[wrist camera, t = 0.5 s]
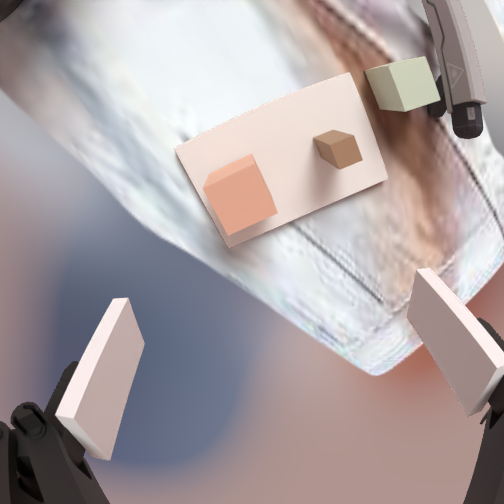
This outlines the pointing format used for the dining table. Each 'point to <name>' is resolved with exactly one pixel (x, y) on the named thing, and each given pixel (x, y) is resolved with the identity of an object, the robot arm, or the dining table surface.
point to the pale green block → (403, 84)
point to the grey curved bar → (456, 68)
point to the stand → (284, 159)
